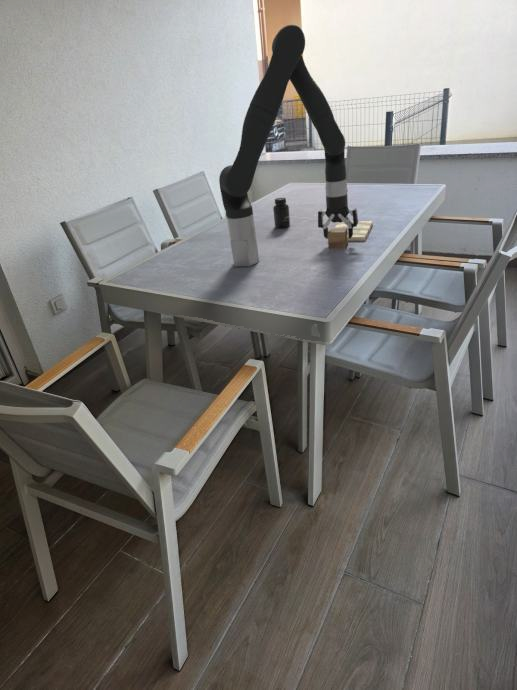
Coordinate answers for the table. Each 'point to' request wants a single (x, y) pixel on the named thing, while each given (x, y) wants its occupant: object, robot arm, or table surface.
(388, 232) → the table surface
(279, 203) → the supplement bottle
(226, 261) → the table surface
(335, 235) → the walnut block
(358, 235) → the birch board
